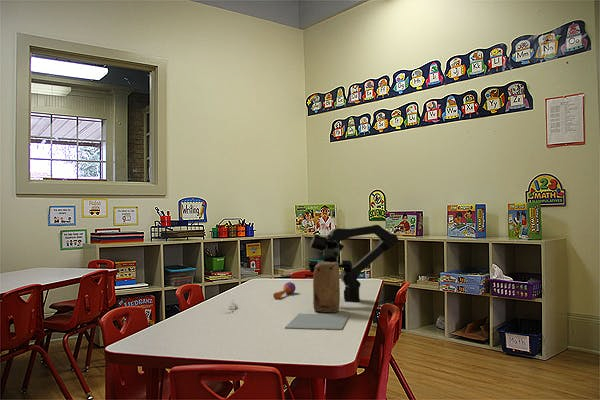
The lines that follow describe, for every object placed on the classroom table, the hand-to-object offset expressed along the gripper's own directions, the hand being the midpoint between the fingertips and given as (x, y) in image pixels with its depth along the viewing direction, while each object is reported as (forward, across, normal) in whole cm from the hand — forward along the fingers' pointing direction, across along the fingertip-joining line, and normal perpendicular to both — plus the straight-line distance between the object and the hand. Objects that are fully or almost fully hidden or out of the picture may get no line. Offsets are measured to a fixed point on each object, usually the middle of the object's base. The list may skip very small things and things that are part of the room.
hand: (328, 281), depth 210 cm
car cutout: (+16, -41, -1) cm, 44 cm away
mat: (+28, +1, -13) cm, 31 cm away
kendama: (-11, -27, +26) cm, 39 cm away
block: (+15, 0, +1) cm, 15 cm away
